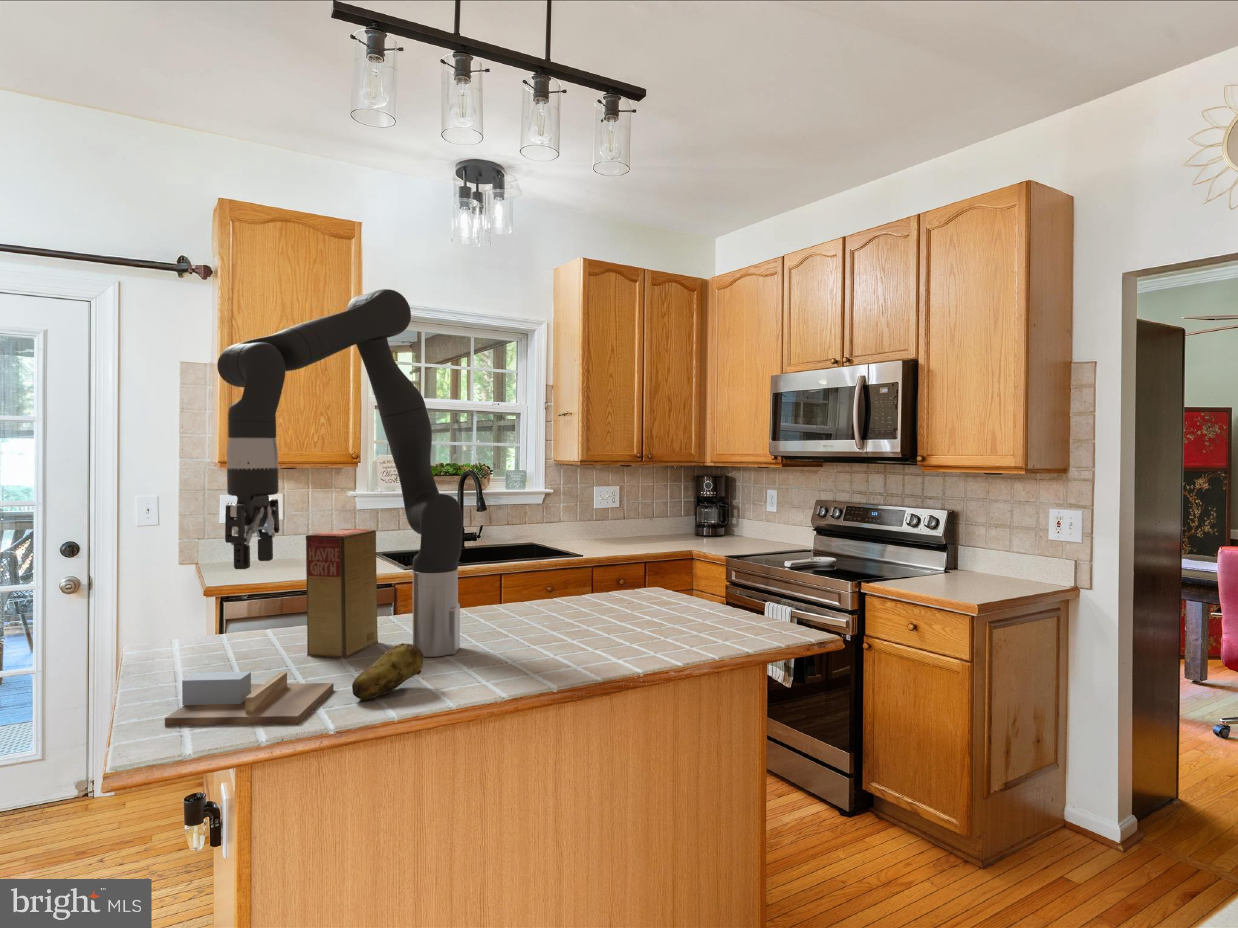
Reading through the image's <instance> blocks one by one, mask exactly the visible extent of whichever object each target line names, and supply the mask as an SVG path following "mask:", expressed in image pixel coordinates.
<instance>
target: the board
mask: <svg viewBox="0 0 1238 928" xmlns="http://www.w3.org/2000/svg"><path fill="white" fill-rule="evenodd" d="M333 691H334V682H320V683H319V682H318V683H317V682H314V683H313V682H312V683H311V682H309V683H307V682H305V683H298V682H297V683H288V672H287V671H279V672H278V673H277V674H275V675H274V676H273V677H271V678H270V679H268V680H267V681H266V682H264V683H251V694H249V695H248V696H247V697H245V701H244V702H242V703H241V704H215V705H182V706H181V707H180V708H178V709H177V710H175V711H173V712H171V713H169V715H167V716H166V717H164V726H165V727H166V726H167V727H172V726H174V727H175V726H180V727H181V726H230V725H231V726H235V725H236V726H237V725H238V726H239V725H241V726H242V725H244V726H245V725H247V726H248V725H295V724H296V725H298V724H299V723H300V722H301V721H302V720H304V719H305V718H306V717H307V716H308V715H309V714H310V713H311V712H312V711H313V710H314V709H315V708H316V707H317V706H319V704H320V703H321V702H322V701H324V700H325V699H326V698H327V696H329V695H330V694H331V693H332V692H333Z"/></svg>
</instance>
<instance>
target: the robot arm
mask: <svg viewBox="0 0 1238 928" xmlns="http://www.w3.org/2000/svg"><path fill="white" fill-rule="evenodd" d="M411 312H412V311H411V307H410V305H409V303H408V300H407V299H406V298H405V296H403V294H402V293H400V292H399V291H396V290H394V289H391V288H390V289H387V288H386V289H385V288H382V289H377V290H374V291H371V292H368V293H364V294H361V295H360V294H359V295H357V296H354V297H353V298H352V299H350V301H349V303H348V305H347V308H346V310H344V311H342V312H338V313H334V314H331V315H326V316H323V317H319V318H315V319H312V320H307V321H305V322H301V323H299V324H296V325H293V326H291V327H287V328H285V329H282V330H280V331H278V332H276V333H273V334H270V335H266V336H261V337H258V338H257V337H256V338H253V339H249V340H244V341H242V342H238V343H235V344H232V345H230V346H228V347H226V348H225V349H224V350H223V351H222V352H221V354H219V357H218V360H217V363H216V365H217V372H218V374H219V376H220V377H221V379H222V380H223V381H224V382H225V383H227V384H228V385H231V386H233V387H235V388H236V387H237V388H243V393H242V395H241V398H240V400H238V401H236V402H234V403H232V404H231V405H230V406H229V407H228V411H227V412H228V413H227V428H228V429H227V434H228V435H227V436H228V439H227V441H228V442H227V448H226V485H227V486H226V487H227V488H226V490H227V495H229V496H230V497H231V496H232V497H236V504H235V503H234V504H233V503H230V504H229V503H228V504H226V505H225V518H224V519H225V523H224V526H225V528H224V531H225V532H224V541H225V543H226V544H231V546H233V567H234V569H235V570H247V569H249V568H250V567H251V545H250V544H251V543H250V542H251V539H252V538H253V534H256V536H257V559H258V561H259V562H270V561H272V560H273V558H274V552H273V551H274V547H273V546H274V545H273V543H274V541H273V539H274V538H275V537H276V534H278V533H280V514H279V513H280V512H279V511H280V510H279V508H280V507H279V499H278V498H270V497H269V496H272V495H277V494H278V493H279V492H280V491H279V486H280V485H279V450H278V444H277V419H276V418H277V416H276V415H277V414H276V413H277V410H278V407H279V404H280V400H281V396H282V392H283V388H284V384H285V379H286V372H290V371H296V370H300V369H303V368H305V367H309V366H310V365H313V364H315V363H317V362H319V361H322V360H325V359H326V358H328V357H330V356H332V355H335V354H337V353H339V352H341V351H343V350H346V349H348V348H350V347H352V346H355V345H356V347H357V350H358V352H359V356H360V358H361V359H362V362H363V365H364V367H365V370H366V374H367V376H368V380H369V382H370V385H371V388H372V392H373V394H374V398H375V401H376V405H377V408H378V413H379V417H380V420H381V423H382V426H383V427H382V428H383V430H384V434H385V437H386V440H387V442H388V446H389V449H390V452H391V455H392V456H391V457H392V460H393V463H394V465H395V469H396V472H397V476H398V478H399V479H398V480H399V483H400V489H401V494H402V500H403V501H402V502H403V505H404V506H403V507H404V510H405V511H404V512H405V516H406V520H407V523H408V525H409V526H410V528H411V529H412V531H414V532H415V533H417V534H418V535H420V548H419V551H418V553H417V554H416V555H414V556H413V558H412V645H414V646H417V647H418V648H419V649H420V650H421V651H422V653H423V658H424V657H425V658H426V657H428V658H431V657H432V658H433V657H434V658H435V657H443V656H448V655H449V656H450V655H456V654H457V652H458V650H459V649H460V647H461V643H460V642H461V604H460V602H459V598H458V597H459V593H458V592H459V582H458V581H459V580H458V578H459V570H458V569H459V561H460V558H461V555H462V548H463V531H464V530H463V529H464V528H463V525H464V523H463V522H464V520H463V519H464V518H463V511H462V507H461V505H460V503H459V501H458V500H457V499H456V498H455V497H454V496H451V495H449V494H446V493H445V494H444V493H440V492H439V490H438V487H437V483H436V481H435V477H434V474H433V471H432V464H431V458H432V457H431V453H432V444H433V443H432V442H433V441H432V440H433V433H432V432H433V431H432V424H431V420H430V417H429V413H428V409H427V407H426V401H425V400H424V398H423V395H422V394H421V392H420V391H419V390H418V388H417V387H416V385H414V384H413V382H412V381H411V380H410V379H409V378H408V377H407V375H406V374H405V373H404V372H403V371H402V369H401V368H400V367H399V366H398V364H397V363H396V362H397V361H395V359H394V357H393V354H392V350H391V348H390V344H389V341H388V338H391V337H395V336H398V335H400V334H401V333H403V332H405V330H406V329H408V327H409V325H410V323H411V320H412V319H411V318H412V313H411Z"/></svg>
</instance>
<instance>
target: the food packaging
mask: <svg viewBox="0 0 1238 928" xmlns="http://www.w3.org/2000/svg"><path fill="white" fill-rule="evenodd" d="M305 551H306V552H305V558H306V559H305V563H306V564H305V565H306V566H305V568H306V572H305V573H306V576H305V578H306V614H307V615H306V625H307V626H306V627H307V629H306V630H307V631H306V633H307V634H306V635H307V641H306V642H307V643H306V644H307V645H306V649H307V651H306V652H307V653H306V654H307V655H306V656H307V657H317V658H318V657H320V658H333V659H335V658H336V659H345V658H349V657H350V656H353V655H354V654H356V653H358V652H361V651H363V650H364V649H367V648H369V647H371V646H373V645H375V644H377V643H379V639H378V638H379V637H378V586H377V584H378V582H377V531H376V529H370V528H369V529H368V528H365V529H364V528H363V529H362V528H340V529H334V530H329V531H324V532H323V531H322V532H319V533H314V534H313V533H312V534H306V535H305Z"/></svg>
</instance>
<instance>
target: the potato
mask: <svg viewBox="0 0 1238 928" xmlns="http://www.w3.org/2000/svg"><path fill="white" fill-rule="evenodd" d="M423 660H424V656H423V653H422V651H421V650H420V649H419V648H418V647H417V646H414V645H413V643H399V644H395V645H394V646H393V647H391V648H390V649H388V650H386V651H385V653H383V654H382V655H380V657H379V658H378V659H377V660H376V661H374V663H373V664H372V665H370V666H369V667H367V668H366V669H365V670H363V671H362V672H361V673H360V674H358V675H357V676H356V677H355V678H354V680H353V681H352V684H351V689H352V694H353V696H354V697H355V698H357V699H359V700H361V701H367V700H371V699H373V698H375V697H378V696H383V695H385V694H388V693H390V692H392V691H394V690H395V689H397V688H399V686H401V685H402V684H403V683H405V682H406V681H407V680H409V679H410V678H412V677H414V676H415V675H420V674H421V673H422V668H423V667H422V666H423V664H424V663H423V662H424V661H423Z"/></svg>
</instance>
